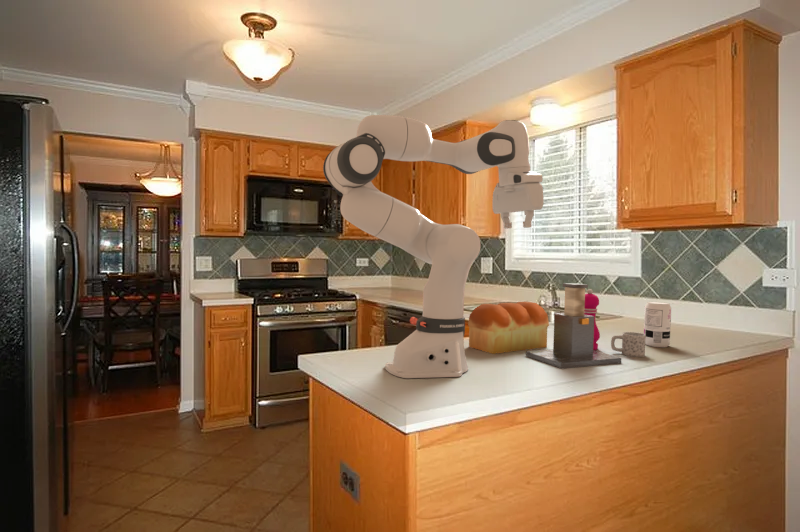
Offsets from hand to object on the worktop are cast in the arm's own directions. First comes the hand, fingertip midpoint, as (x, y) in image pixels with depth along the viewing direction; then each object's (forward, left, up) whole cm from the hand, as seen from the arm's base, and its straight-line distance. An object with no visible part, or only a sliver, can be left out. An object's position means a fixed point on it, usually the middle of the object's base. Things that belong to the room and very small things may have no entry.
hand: (517, 228), depth 141 cm
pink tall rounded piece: (+37, +10, -39) cm, 55 cm away
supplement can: (+65, +7, -39) cm, 76 cm away
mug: (+43, -1, -39) cm, 58 cm away
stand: (+20, -2, -39) cm, 44 cm away
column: (+20, -2, -37) cm, 42 cm away
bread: (+12, +20, -39) cm, 45 cm away
